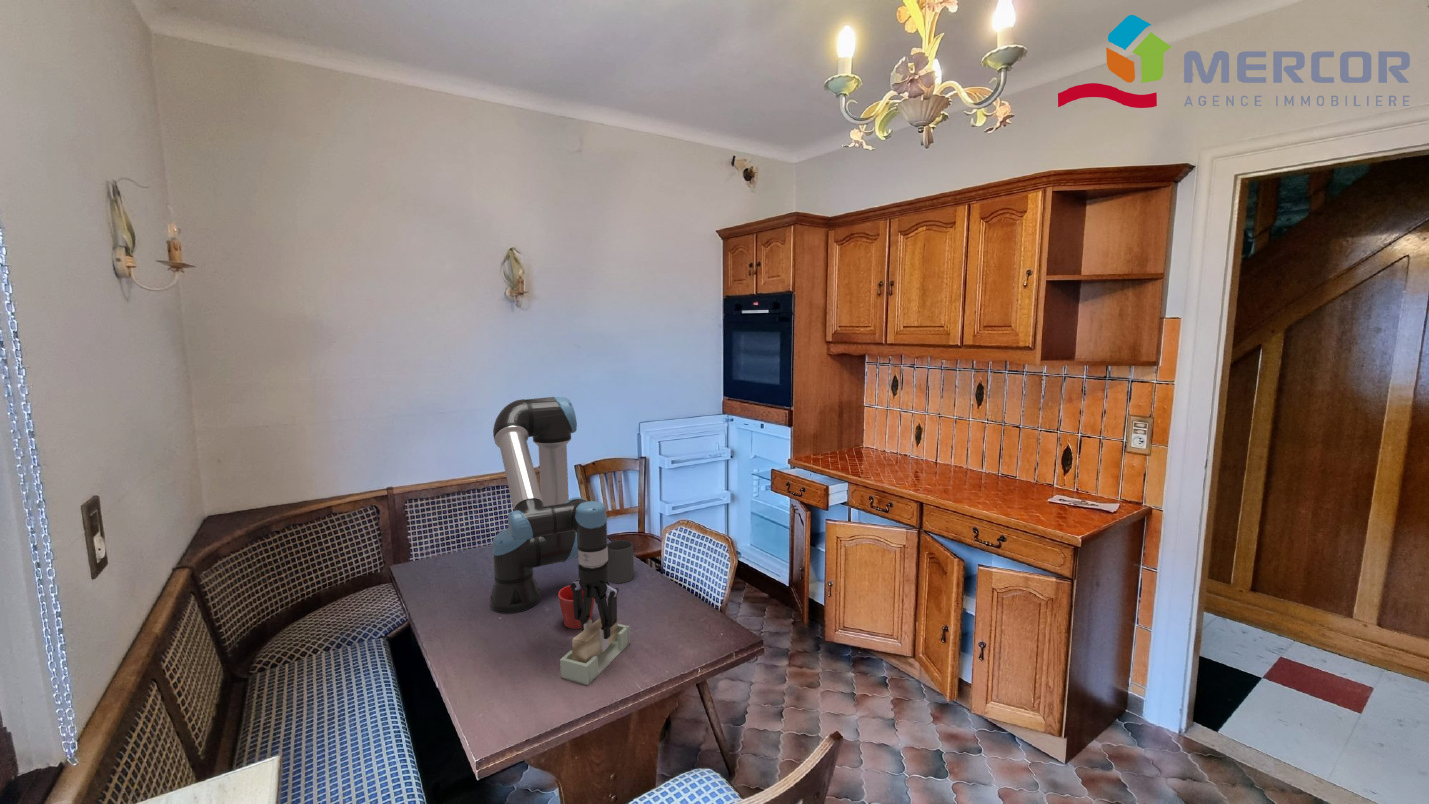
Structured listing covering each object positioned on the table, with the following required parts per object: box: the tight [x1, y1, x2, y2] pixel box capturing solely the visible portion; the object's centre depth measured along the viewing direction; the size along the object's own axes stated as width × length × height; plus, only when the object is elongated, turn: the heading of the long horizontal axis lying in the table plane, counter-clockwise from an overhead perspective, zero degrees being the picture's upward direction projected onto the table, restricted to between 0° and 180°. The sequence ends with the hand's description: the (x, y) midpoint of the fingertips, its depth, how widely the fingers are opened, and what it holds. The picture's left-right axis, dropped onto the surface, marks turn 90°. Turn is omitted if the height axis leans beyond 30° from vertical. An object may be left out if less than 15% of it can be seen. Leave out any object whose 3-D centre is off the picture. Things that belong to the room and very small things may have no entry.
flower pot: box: [557, 584, 595, 630], centre depth 169 cm, size 11×11×10 cm
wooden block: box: [571, 615, 619, 663], centre depth 150 cm, size 4×16×6 cm, turn 161°
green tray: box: [559, 623, 631, 686], centre depth 151 cm, size 8×20×5 cm, turn 158°
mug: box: [607, 539, 635, 584], centre depth 200 cm, size 14×9×12 cm
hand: (596, 646), depth 151 cm, fingers closed on wooden block, 4 cm apart
